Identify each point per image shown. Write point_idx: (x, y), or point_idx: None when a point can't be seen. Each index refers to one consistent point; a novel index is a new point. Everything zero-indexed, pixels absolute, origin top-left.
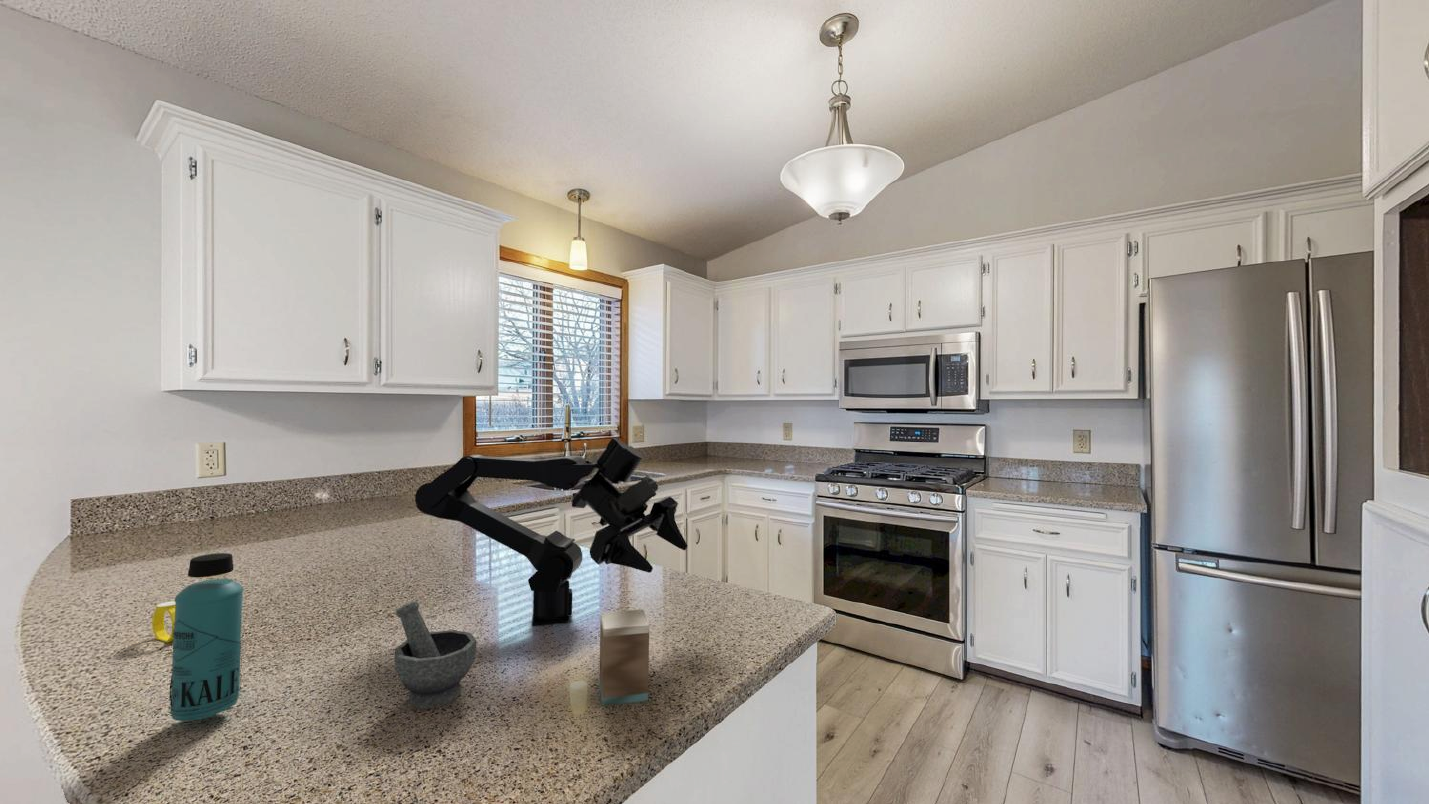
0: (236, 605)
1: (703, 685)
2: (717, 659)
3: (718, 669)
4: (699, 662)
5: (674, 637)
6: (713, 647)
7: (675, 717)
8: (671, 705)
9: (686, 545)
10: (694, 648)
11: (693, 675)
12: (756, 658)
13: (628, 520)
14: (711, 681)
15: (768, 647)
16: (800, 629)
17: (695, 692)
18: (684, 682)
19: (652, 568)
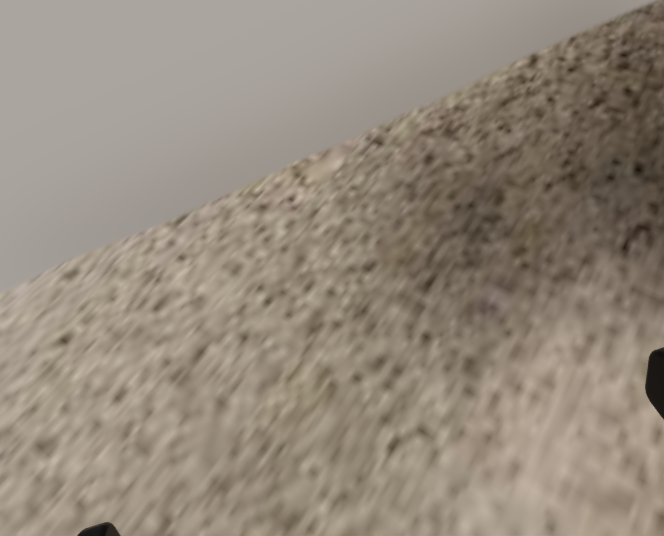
0: None
1: (510, 124)
2: (383, 234)
3: (419, 181)
4: (446, 242)
5: (418, 476)
6: (340, 314)
7: (657, 27)
8: (645, 71)
9: (95, 526)
10: (403, 340)
11: (508, 180)
12: (282, 193)
13: None
14: (477, 134)
15: (204, 234)
16: (37, 292)
17: (550, 102)
18: (555, 156)
19: (655, 352)
